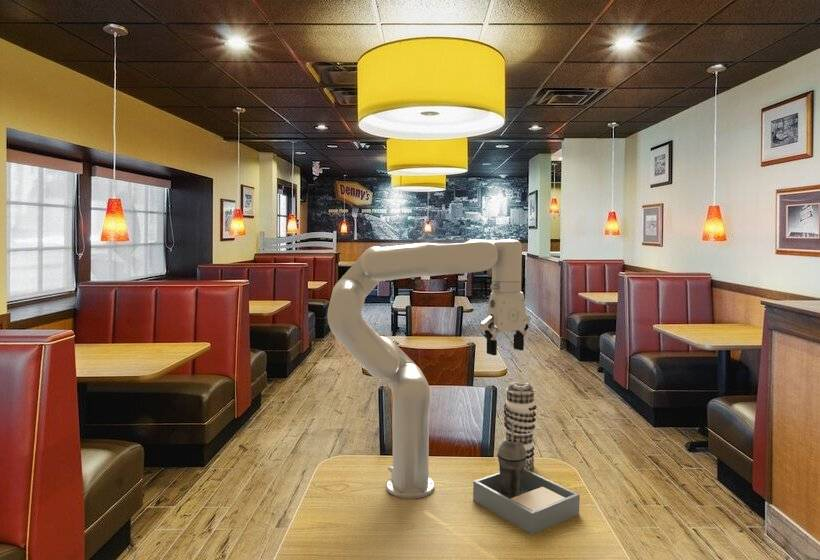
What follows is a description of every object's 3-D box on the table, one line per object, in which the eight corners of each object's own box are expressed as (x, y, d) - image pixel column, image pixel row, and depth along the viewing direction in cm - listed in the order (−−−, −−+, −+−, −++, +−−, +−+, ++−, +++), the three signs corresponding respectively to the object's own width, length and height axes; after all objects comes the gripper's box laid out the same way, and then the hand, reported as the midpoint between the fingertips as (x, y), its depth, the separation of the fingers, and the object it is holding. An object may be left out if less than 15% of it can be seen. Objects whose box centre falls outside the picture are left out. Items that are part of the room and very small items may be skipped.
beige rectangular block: (510, 514, 144) (510, 498, 144) (542, 501, 150) (542, 486, 150) (535, 528, 137) (535, 512, 137) (567, 515, 144) (567, 499, 143)
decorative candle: (525, 461, 177) (527, 378, 174) (541, 474, 168) (543, 387, 166) (497, 464, 175) (498, 380, 172) (511, 478, 166) (513, 390, 163)
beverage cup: (525, 494, 154) (528, 419, 152) (525, 508, 147) (527, 429, 145) (497, 491, 156) (499, 416, 153) (494, 504, 149) (497, 426, 146)
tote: (473, 503, 151) (473, 481, 151) (518, 487, 160) (519, 465, 160) (531, 539, 135) (532, 513, 134) (578, 518, 144) (579, 494, 143)
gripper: (491, 291, 149) (490, 359, 151) (540, 286, 158) (538, 350, 160) (471, 288, 155) (470, 353, 157) (519, 283, 165) (518, 345, 166)
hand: (505, 351), depth 158 cm, fingers open, 9 cm apart
